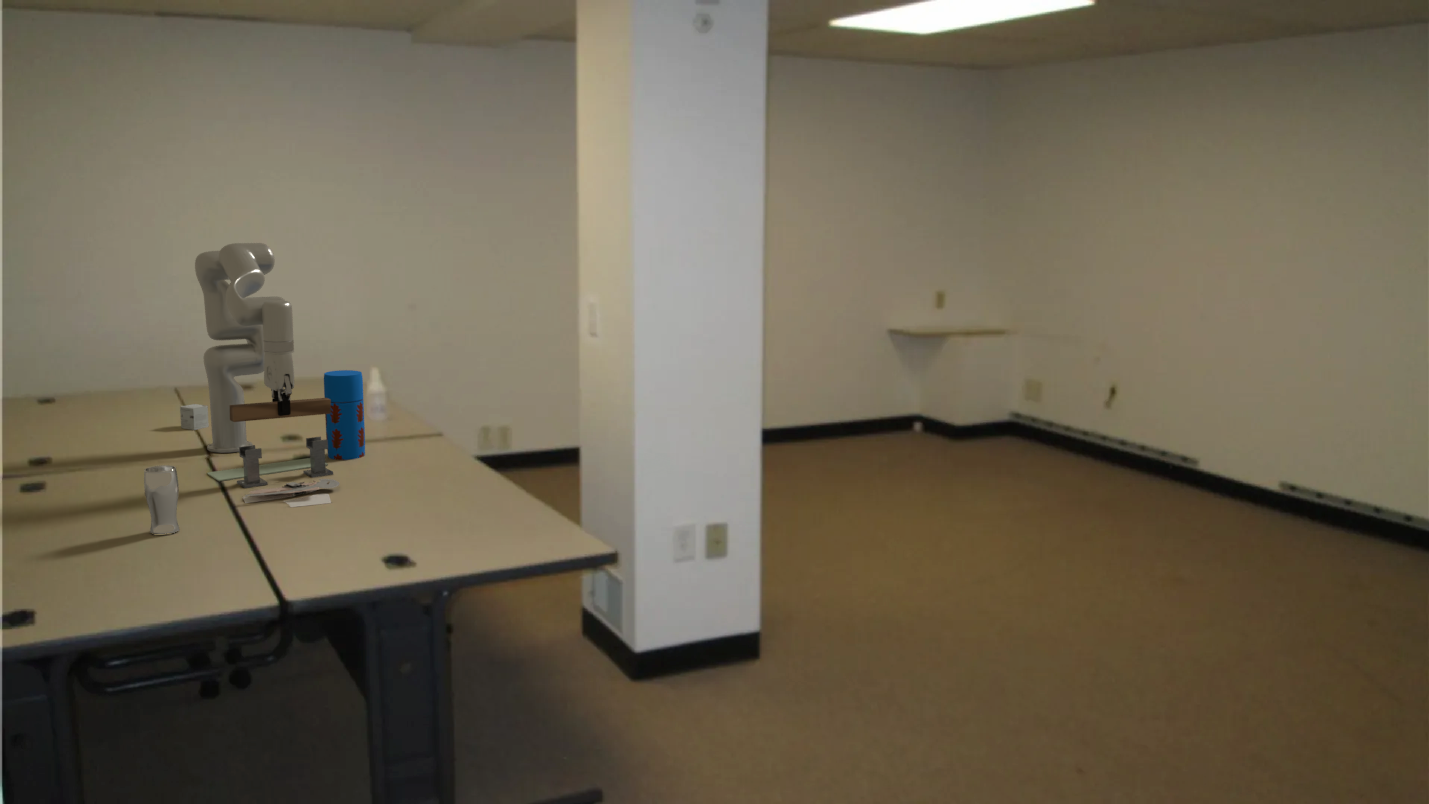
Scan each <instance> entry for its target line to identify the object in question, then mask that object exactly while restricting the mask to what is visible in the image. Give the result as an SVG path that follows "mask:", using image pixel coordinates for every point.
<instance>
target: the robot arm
mask: <svg viewBox="0 0 1429 804" xmlns="http://www.w3.org/2000/svg"><path fill="white" fill-rule="evenodd" d="M275 259H276V258H275V255H274V252H273V250H272V249H271V247H270V246H269V245H267V244H265V243H262V242H240V243H239V242H236V243H235V242H234V243H229V244H226V245H224V246H222V247H221V249H219V250H209V251H204V252H201V253H199V254H198V255H197V256H196V258H195V260H194V261H195V262H194V269H195V270H194V271H195V275H196V278H197V281H198V284H199V286H200V288H201V291H202V294H203V300H204V304H203V305H204V314H205V315H204V316H205V325H206V331H207V335H208V336H209V338H210V339H211V340H214V341H236V340H246V343H238V344H237V343H235V344H234V343H231V344H222V345H221V344H220V345H215V346H211V347H209V348H208V349H207V350H205V352H204V353H203V364H204V368H205V373H206V379H207V383H208V384H207V385H208V395H209V396H208V397H209V407H210V408H209V409H210V422H211V424H210V425H211V437H212V439H211V441H212V443H209V444H208V445H207V448H206V449H207V451H208V452H210V453H211V452H212V453H217V454H218V453H221V454H222V453H223V454H224V453H225V454H226V453H227V454H229V453H239V447H243V446H251V445H253V442H251V441H250V440H247V424H246V422H247V421H241V422H233V421H231V420H230V405H237V404H246V403H245V393H244V389H243V386H242V385H241V384H240V383H239V382H238V381H237V380H236V379H235V377H239V376H250V375H259V374H262V373H263V381H264V382H263V383H264V386H265V387H266V388H269V389H270V391H271V398H272V399H271V400H272V401H271V402H277V403H278V415H279V416H284V415H290V414H291V410H290V400H291V395H293V391H292V390H293V389H294V388H295V371H294V370H295V369H294V361H293V354H294V353H295V347H294V346H295V345H294V343H295V342H294V324H293V323H294V322H293V321H294V320H293V319H294V318H293V305H292V303H291V302H290V301H288V300H285V298H283V297H282V296H254V297H253V296H252V295H254V294H255V293H257V292H259V291H260V290H261V289H262V288H263V286H264V284H265V278H266V277H265V275H268V274H269V273H270V272H271V271H272V270H273V269H274V267H275ZM228 280H229V281H230V283H228V282H227V281H228ZM250 296H251V297H250Z"/></svg>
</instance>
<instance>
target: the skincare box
mask: <svg viewBox="0 0 1429 804" xmlns="http://www.w3.org/2000/svg"><path fill="white" fill-rule="evenodd" d="M208 408H209V406H208V405H204V404H198V403H192V404H186V405H181V406H180V407H179V413H180V414H179V415H180V428H181V429H185V430H192V431H196V430H197V431H198V430H201V429H205V428H209V426H210V425H209V409H208Z"/></svg>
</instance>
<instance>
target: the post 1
mask: <svg viewBox="0 0 1429 804" xmlns="http://www.w3.org/2000/svg"><path fill="white" fill-rule="evenodd" d="M238 453H239V457H240V458H242V461H243V462H242V463H243V467H244V478H243V479H237V480H236V484H237V485H239V486H240V487H242V488H243V489H250V488H254V487H261V486H268V484H269V482H268V480H265V479H263V478H262V477H260V476H261V475H259V465H260V461H259V460H260V459H262V458H263V453H262V448H260V447H259V448H256V445H255V444H254V445H251V446H243V447H239V452H238Z"/></svg>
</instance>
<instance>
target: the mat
mask: <svg viewBox="0 0 1429 804" xmlns="http://www.w3.org/2000/svg"><path fill="white" fill-rule="evenodd" d="M325 466H329V463H327V462H325ZM307 469H311V463H310V457H307V458H300V459H293V460H286V461H279V462H271V463H264V464H259V475H260V476H264V475H266V476H267V475H272V474H278V473H279V474H280V473H285V472H292V471H300V470H307ZM206 475H208V476H210V477H211V478H213V479H214V480H216V481H218V482H224V481H232V480H240V479H244V466H243V467H237V468H231V469H224V470H217V471H209V472H207V473H206Z"/></svg>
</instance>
